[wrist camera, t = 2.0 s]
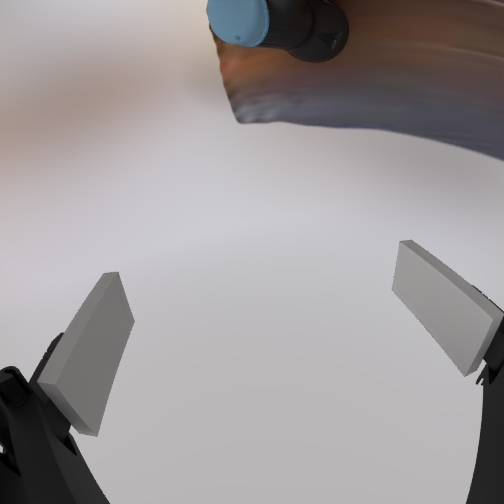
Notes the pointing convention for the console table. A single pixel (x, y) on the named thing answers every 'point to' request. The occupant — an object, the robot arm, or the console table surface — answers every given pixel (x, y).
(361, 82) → the console table surface
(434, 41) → the console table surface
